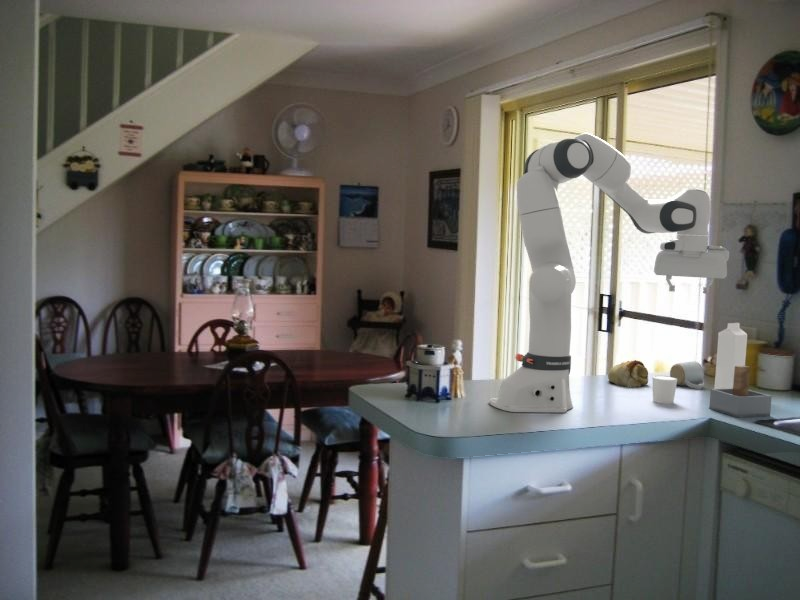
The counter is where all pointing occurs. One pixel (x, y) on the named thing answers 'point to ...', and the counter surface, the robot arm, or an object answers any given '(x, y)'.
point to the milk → (729, 355)
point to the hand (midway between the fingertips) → (688, 292)
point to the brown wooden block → (741, 380)
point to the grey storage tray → (740, 403)
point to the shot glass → (664, 389)
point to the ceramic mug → (688, 374)
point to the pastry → (629, 374)
